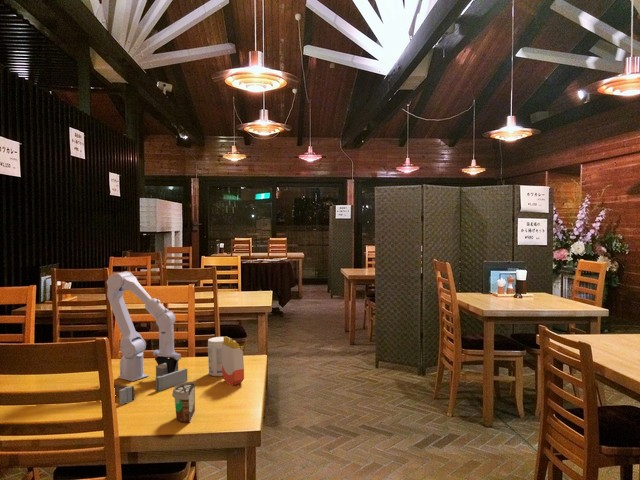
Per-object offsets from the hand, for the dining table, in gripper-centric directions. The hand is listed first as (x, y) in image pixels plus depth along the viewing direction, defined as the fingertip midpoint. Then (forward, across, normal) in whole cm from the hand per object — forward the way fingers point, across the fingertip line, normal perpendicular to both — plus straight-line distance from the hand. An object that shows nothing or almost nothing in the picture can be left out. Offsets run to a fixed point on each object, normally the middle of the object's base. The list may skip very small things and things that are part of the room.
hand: (167, 374), depth 196 cm
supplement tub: (+2, +14, +16) cm, 21 cm away
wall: (+2, +9, -13) cm, 16 cm away
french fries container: (+2, +27, +10) cm, 29 cm away
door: (+2, +4, -23) cm, 24 cm away
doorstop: (+2, 0, 0) cm, 2 cm away
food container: (+2, +37, -25) cm, 45 cm away
